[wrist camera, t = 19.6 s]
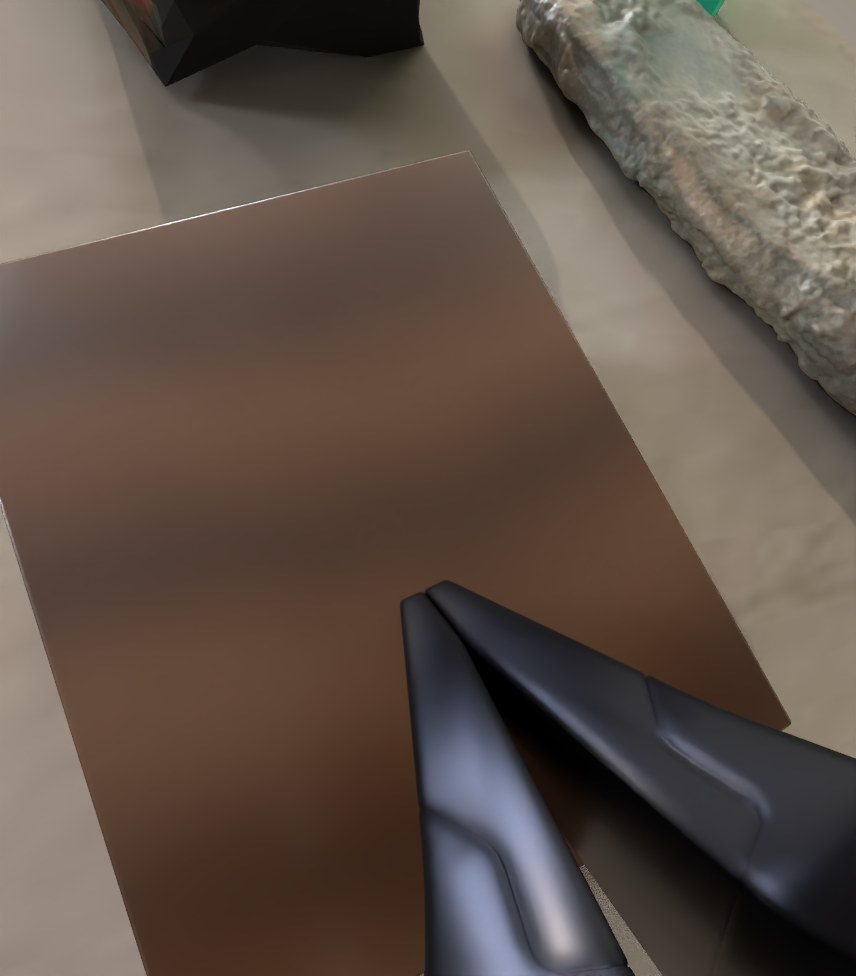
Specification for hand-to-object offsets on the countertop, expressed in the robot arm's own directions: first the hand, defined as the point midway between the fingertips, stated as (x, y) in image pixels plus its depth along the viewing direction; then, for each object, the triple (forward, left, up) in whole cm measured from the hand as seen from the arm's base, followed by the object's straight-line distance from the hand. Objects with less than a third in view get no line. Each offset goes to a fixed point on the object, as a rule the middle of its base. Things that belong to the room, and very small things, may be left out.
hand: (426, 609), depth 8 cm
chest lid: (+1, +2, -2) cm, 3 cm away
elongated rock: (+23, -7, -10) cm, 26 cm away
